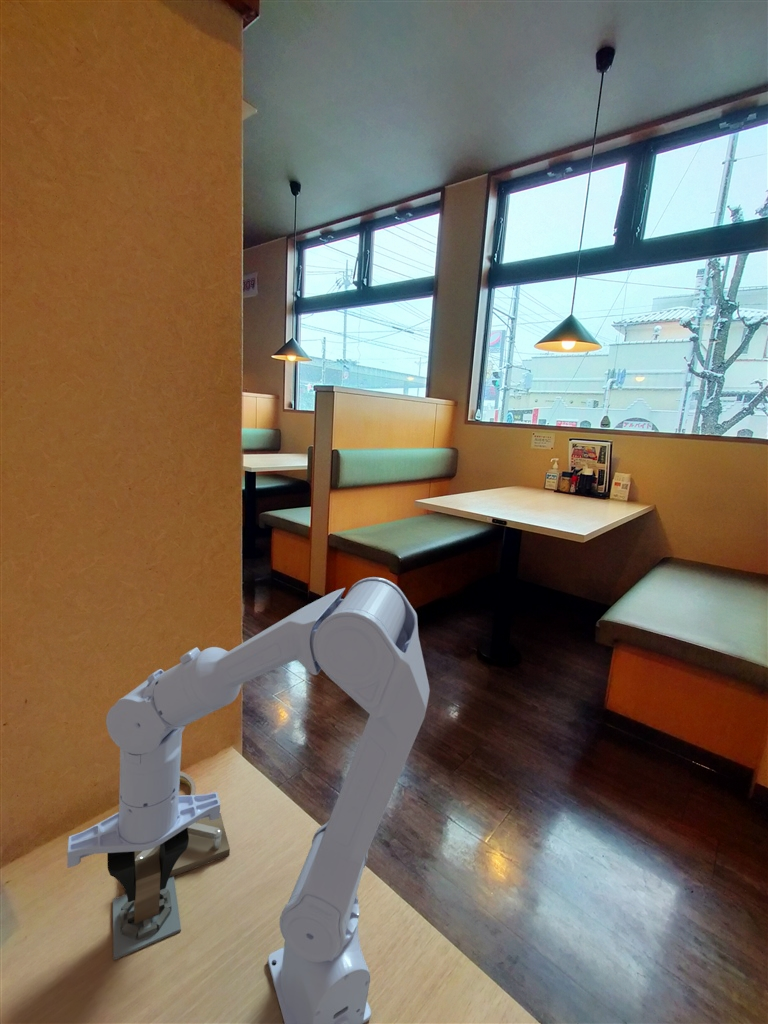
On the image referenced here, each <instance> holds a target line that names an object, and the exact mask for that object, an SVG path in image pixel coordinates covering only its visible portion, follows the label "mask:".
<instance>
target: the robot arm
mask: <svg viewBox="0 0 768 1024" xmlns="http://www.w3.org/2000/svg"><path fill="white" fill-rule="evenodd" d="M344 591H346V587H343V588H340V589H336V590H335V591H332V592H330V593H328V594H326V595H325V596H322V597H321V598H319V599H316V600H314V601H313V602H311V603H308V604H307V605H305V606H304V607H301V608H300V609H298V610H296V611H294V612H293V613H291V614H289V615H288V616H286V617H284V618H283V619H281V620H279V621H277V622H276V623H274V624H272V625H271V626H269V627H267V628H266V629H264V630H262V631H261V632H259V633H257V634H255V635H254V636H252V637H250V638H249V639H247V640H246V641H244V642H242V643H241V644H239V645H237V646H235V647H234V648H232V649H230V650H229V651H228V650H227V649H224V648H222V647H217V646H211V647H208V648H205V649H203V650H201V651H200V649H199V648H198V647H194V648H192V649H190V650H189V651H187V652H186V653H184V654H182V655H181V656H180V657H179V661H180V663H178V664H176V665H174V666H173V667H170V668H169V669H167V670H165V671H164V670H163V669H161V668H160V669H157V670H156V671H154V672H153V673H151V674H149V675H148V676H147V678H146V680H144V681H143V682H142V683H140V684H139V685H138V686H136V687H135V688H134V689H132V690H131V691H130V692H129V693H127V694H126V695H124V696H123V697H122V698H119V699H118V700H117V701H116V702H115V704H114V705H112V707H110V709H109V710H108V712H107V714H106V719H105V722H106V723H105V724H106V729H107V733H108V735H109V737H110V738H111V740H112V741H113V742H114V744H115V745H116V746H117V747H118V748H119V793H118V795H119V797H118V798H119V799H118V805H119V806H118V812H116V813H115V814H113V815H111V816H109V817H107V818H105V819H104V820H101V821H100V822H98V823H96V824H94V825H93V826H91V827H89V828H87V829H85V830H82V831H81V832H78V833H75V834H72V835H69V836H68V838H67V839H68V840H67V851H66V856H67V858H66V861H67V862H66V863H67V866H66V867H67V868H69V869H70V868H72V867H75V866H78V865H79V864H81V861H82V858H83V859H84V858H86V857H89V856H92V855H94V854H97V855H98V854H107V856H106V857H107V861H106V862H107V871H108V873H109V876H110V877H113V878H114V879H116V880H117V881H118V882H119V883H120V884H121V886H122V888H123V889H124V893H125V892H126V894H127V898H128V902H131V901H134V900H135V895H136V894H135V876H134V874H135V851H145V850H149V849H152V848H155V847H157V846H159V845H160V850H159V861H160V870H161V876H160V890H162V889H165V888H166V885H167V882H168V879H169V876H170V873H171V871H172V869H173V867H174V865H175V863H176V861H177V860H178V858H179V857H180V856H181V854H182V853H183V852H184V851H185V850H186V849H187V846H188V842H189V835H188V827H189V826H190V825H192V824H193V823H195V822H197V821H198V820H200V819H203V818H206V817H209V819H210V820H214V819H217V818H219V817H220V813H221V801H220V798H219V797H220V796H219V793H218V792H217V791H213V792H210V793H206V794H195V795H189V794H188V795H187V794H183V795H181V794H180V785H181V784H180V783H181V782H180V771H181V760H182V741H183V737H182V736H183V731H184V730H185V728H186V726H188V725H190V724H192V723H193V722H196V721H198V720H199V719H202V718H204V717H206V716H208V715H210V714H212V713H214V712H216V711H218V710H221V708H223V707H226V706H228V705H231V704H232V703H233V702H235V700H236V699H237V697H238V696H239V694H240V691H241V688H242V684H244V683H247V682H248V681H251V680H253V679H255V678H258V677H260V676H262V675H265V674H267V673H269V672H272V671H274V670H277V669H279V668H280V667H283V666H285V665H287V664H290V663H292V662H294V661H298V662H299V663H300V664H301V665H302V666H303V667H304V668H305V669H306V670H307V671H308V672H309V673H310V674H312V676H313V675H314V676H317V675H319V674H320V672H321V671H323V673H325V675H326V676H327V677H328V679H330V680H331V681H332V682H333V683H334V684H335V685H337V686H338V688H340V689H341V690H343V692H345V693H346V694H347V695H348V696H349V697H350V698H351V699H352V700H353V701H355V703H357V705H359V706H360V707H361V708H362V709H364V710H365V711H366V713H368V714H369V716H368V718H367V721H366V724H365V727H364V729H363V732H362V734H361V737H360V739H359V742H358V744H357V747H356V749H355V753H354V755H353V758H352V761H351V762H350V766H349V767H348V769H347V770H348V771H347V772H346V775H345V779H344V781H343V784H342V786H341V789H340V791H339V793H338V795H337V799H336V801H335V804H334V807H333V809H332V812H331V814H330V818H329V819H328V821H327V822H325V824H323V825H321V826H320V827H319V828H318V829H317V830H316V832H315V833H314V835H313V838H312V841H311V847H310V849H309V851H308V853H307V855H306V858H305V861H304V863H303V865H302V868H301V870H300V873H299V875H298V877H297V880H296V883H295V885H294V887H293V890H292V891H291V895H290V897H289V899H288V902H287V903H286V904H285V906H284V908H283V910H282V912H281V914H280V917H279V929H280V933H281V935H282V938H283V940H284V945H283V947H281V948H279V949H277V950H275V951H273V952H271V953H269V955H268V957H267V964H268V967H269V971H270V974H271V979H272V982H273V986H274V989H275V993H276V997H277V1001H278V1004H279V1007H280V1011H281V1014H282V1018H283V1022H284V1024H365V1023H367V1022H368V1021H369V1020H370V1019H371V1017H372V1009H371V1007H370V1004H369V1002H368V995H369V988H370V983H371V973H370V969H369V967H368V964H367V963H366V960H365V957H364V953H363V951H362V947H361V943H360V936H359V916H360V905H359V899H358V898H359V897H358V890H359V886H360V882H361V878H362V876H363V871H364V868H365V867H366V864H367V861H368V857H369V856H368V855H369V850H370V847H371V845H372V842H373V839H374V837H375V835H376V833H377V831H378V828H379V825H380V823H381V822H382V818H383V816H384V814H385V812H386V809H387V807H388V804H389V802H390V800H391V797H392V795H393V792H394V791H395V787H396V786H397V783H398V781H399V779H400V776H401V774H402V772H403V769H404V767H405V765H406V763H407V762H406V761H407V760H408V757H409V755H410V752H411V750H412V749H413V745H414V743H415V741H416V738H417V736H418V733H419V731H420V729H421V728H422V727H421V726H422V724H423V722H424V720H425V717H426V712H427V707H428V703H429V697H430V690H431V689H430V683H429V680H428V679H429V678H428V675H427V670H426V665H425V659H424V655H423V651H422V647H421V642H420V637H419V626H418V623H419V622H418V614H417V612H416V610H415V609H414V608H413V606H412V605H411V602H409V600H408V598H407V597H406V595H405V593H404V592H403V591H402V590H401V588H400V587H399V586H398V585H397V584H395V583H393V582H392V581H391V580H388V579H386V578H383V577H378V576H377V577H376V576H372V577H366V578H362V579H360V580H358V581H357V582H355V583H354V584H352V586H351V587H350V588H349V590H348V592H347V593H346V595H345V597H344V598H342V596H343V594H344ZM274 964H275V965H274Z"/></svg>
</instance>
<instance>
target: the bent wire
mask: <svg viewBox="0 0 768 1024" xmlns="http://www.w3.org/2000/svg"><path fill="white" fill-rule="evenodd" d="M188 833H189V834H193V835H197V836H202V837H206V838H210V839H213V846H212V848H213V850H218V849H219V848H220V846H221V835H222V831H221V830H220V828H217V827H212V826H208V825H204V824H200V823H193V824H192V825H190V826H189V827H188ZM159 848H160V845H159V846H157V847H155V848H152V849H149V850H145V851H142V852H141V853H140V854H139V855H138V856H137V857H136V859H135V861H137V860H140V859H142V858H145V857H148V856H151V855H153V854H154V853H155V852H156V851H157V850H158V849H159Z"/></svg>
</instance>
